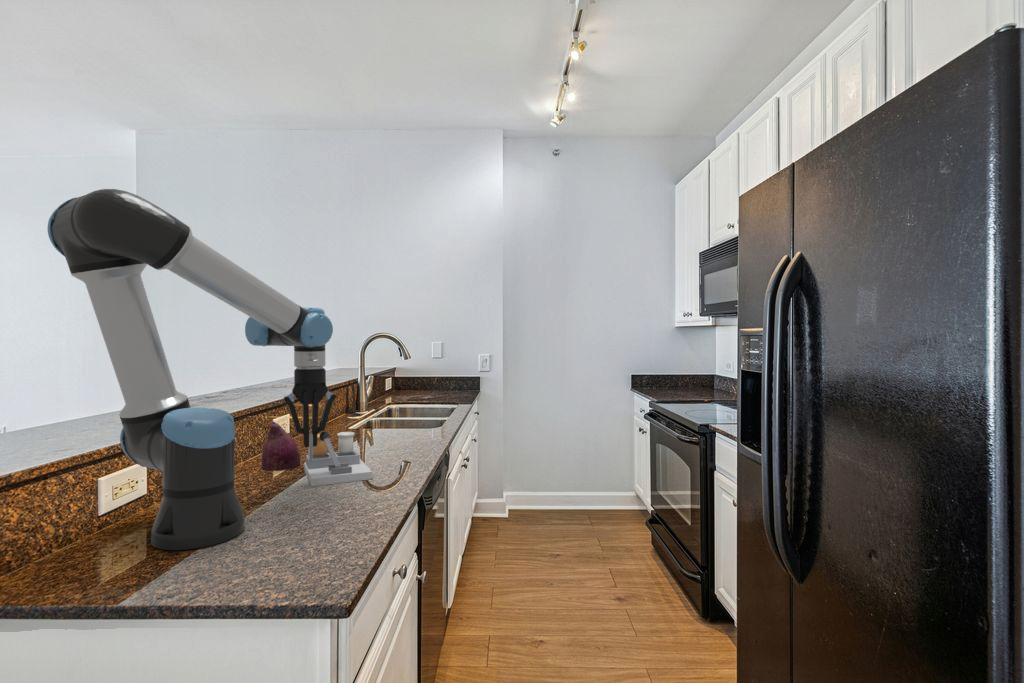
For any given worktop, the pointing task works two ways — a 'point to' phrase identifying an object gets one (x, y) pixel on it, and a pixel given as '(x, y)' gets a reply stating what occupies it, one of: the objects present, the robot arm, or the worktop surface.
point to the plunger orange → (319, 447)
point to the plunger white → (345, 441)
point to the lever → (330, 448)
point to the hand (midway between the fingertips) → (310, 459)
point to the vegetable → (279, 450)
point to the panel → (336, 469)
